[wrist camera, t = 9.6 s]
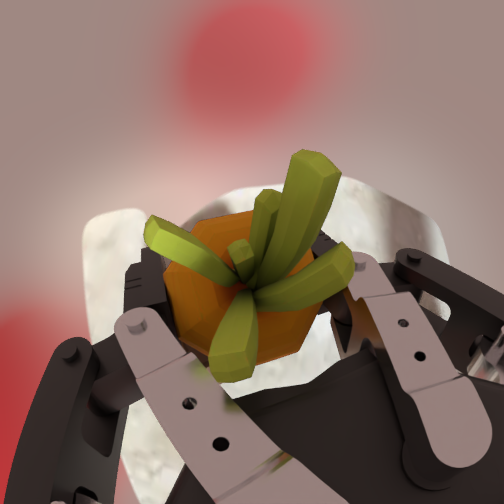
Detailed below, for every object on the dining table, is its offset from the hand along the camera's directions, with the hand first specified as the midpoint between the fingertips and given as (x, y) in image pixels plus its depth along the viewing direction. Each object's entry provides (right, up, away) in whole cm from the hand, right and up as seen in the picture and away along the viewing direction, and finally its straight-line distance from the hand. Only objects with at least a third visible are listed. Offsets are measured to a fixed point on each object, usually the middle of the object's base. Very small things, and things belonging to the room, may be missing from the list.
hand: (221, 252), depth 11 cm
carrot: (-1, -4, +7) cm, 8 cm away
